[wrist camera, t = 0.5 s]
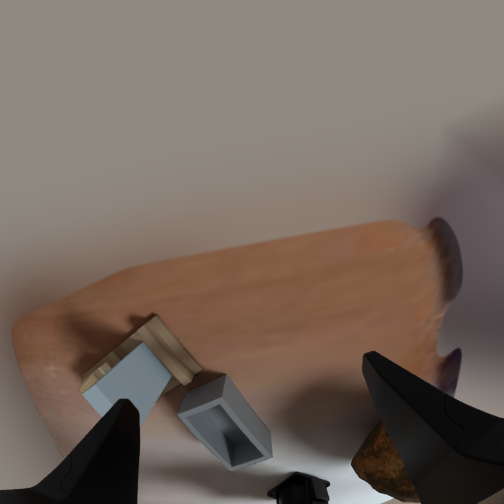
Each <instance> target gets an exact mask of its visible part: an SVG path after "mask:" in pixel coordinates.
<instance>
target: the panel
mask: <svg viewBox="0 0 504 504" xmlns="http://www.w3.org/2000/svg"><path fill="white" fill-rule="evenodd" d="M171 376H172V374H171V373H170V372H169V371H168V369H167V368H166V367H165V366H164V365H163V364H162V363H161V362H160V360H159V359H158V358H157V357H156V356H155V354H154V353H153V352H152V351H151V350H150V348H149V347H148V346H147V345H146V344H145V342H142V343H141V344H140V345H139V346H137V347H136V348H135V349H133V350H132V351H131V352H130V353H129V354H127V355H126V356H125V357H124V358H123V359H122V360H121V361H119V362H118V363H117V364H116V365H115V366H114V367H113V368H111V369H110V370H109V371H108V372H107V373H106V374H105V375H103V376H102V377H101V378H100V379H99V380H98V381H97V382H95V383H94V384H93V385H92V386H91V387H90V388H89V389H87V390H86V391H85V392H84V393H83V394H82V395H83V396H84V397H85V398H86V400H87V401H88V402H89V403H90V404H91V405H92V406H93V408H94V409H95V410H96V411H97V412H98V413H99V414H100V415H101V416H102V417H103V416H104V415H105V414H106V413H107V411H108V410H109V409H110V408H111V407H112V406H113V405H114V404H115V403H116V402H117V400H118V399H121V398H128V399H129V400H130V401H131V402H132V403H133V404H134V405H135V407H136V408H137V409H138V411H139V413H140V427H141V425H142V423H143V422H144V420H145V419H146V417H147V415H148V414H149V412H150V410H151V409H152V407H153V406H154V404H155V402H156V401H157V399H158V397H159V396H160V394H161V393H162V391H163V389H164V388H165V386H166V385H167V383H168V381H169V380H170V378H171Z"/></svg>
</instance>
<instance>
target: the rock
mask: <svg viewBox="0 0 504 504" xmlns="http://www.w3.org/2000/svg"><path fill="white" fill-rule="evenodd" d="M351 466H352V468H353V469H354V471H355V473H356V474H357V475H358V477H359V478H360V479H362V480H364V481H366V482H367V483H368V484H370V485H371V487H372V488H373V489H375V490H376V491H377V492H379V493H382V494H386V495H389V496H391V497H393V498H395V499H398V500H399V501H402V502H414V503H421V502H420V500H419V498H418V495H417V493H416V491H415V489H414V486H413V484H412V482H411V480H410V477H409V475H408V473H407V471H406V469H405V467H404V465H403V462H402V460H401V458H400V456H399V454H398V452H397V450H396V448H395V446H394V444H393V442H392V440H391V438H390V435H389V433H388V431H387V429H386V427H385V425H384V423H383V421H382V420H381V421H380V422H379V423H378V424H377V425H376V427H375V428H374V429H373V430H372V431H371V432H370V434H369V435H368V436H367V438H366V439H365V441H364V442H363V444H362V446H361V447H360V449H359V450H358V452H357V453H356V455H355V456H354V458H353V459H352V462H351Z"/></svg>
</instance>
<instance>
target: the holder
mask: <svg viewBox="0 0 504 504" xmlns="http://www.w3.org/2000/svg"><path fill="white" fill-rule="evenodd" d="M177 416H178V417H179V418H180V419H181V420H182V421H183V423H184V424H185V425H186V426H187V427H188V428H189V430H190V431H191V432H192V433H193V434H194V435H195V436H196V437H197V438H198V440H199V441H200V442H201V443H202V444H203V445H204V446H205V447H206V448H207V449H208V450H209V451H210V452H211V453H212V454H213V455H214V456H215V457H216V458H217V459H218V460H219V461H220V462H221V463H222V464H223V465H224V466H225V467H226V468H227V469H228V470H229V471H230V472H231V471H234V470H237V469H240V468H244V467H247V466H250V465H253V464H256V463H259V462H261V461H264V460H267V459H270V458H272V457H273V455H272V444H271V433H270V431H269V429H268V428H267V427H266V426H265V424H264V423H263V422H262V421H261V419H260V418H259V417H258V416H257V414H256V413H255V412H254V411H253V409H252V408H251V407H250V405H249V404H248V403H247V401H246V400H245V399H244V397H243V396H242V395H241V393H240V392H239V391H238V389H237V388H236V387H235V385H234V384H233V382H232V381H231V380H230V378H229V377H228V375H227V374H226V375H224V376H221V377H219V378H217V379H215V380H213V381H211V382H208V383H206V384H204V385H202V386H199V387H197V388H195V389H192V390H190V391H188V392H187V393H186V395H185V398H184V400H183V402H182V404H181V407H180V409H179V411H178V413H177Z"/></svg>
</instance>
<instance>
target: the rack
mask: <svg viewBox="0 0 504 504" xmlns="http://www.w3.org/2000/svg"><path fill="white" fill-rule="evenodd" d="M142 342H145V344H146V345H147V346H148V347H149V348H150V350H151V351H152V352H153V353H154V354H155V356H156V357H157V358H158V359H159V360H160V362H161V363H162V364H163V365H164V366H165V367H166V368H167V369H168V371H169V372H170V373H171V374H172V376H171V378H170V380H169V381H168V383H167V385H166V386H165V388H164V389H163V391H162V393H161V394H160V396H159V397H158V399H157V401H156V402H155V403H157V402H158V400H159V399H160V397H161V396H162V395H163V394H165V393H166V392H168V391H170V390H171V389H173V388H174V387H176V386H178V385H179V384H181V383H182V384H183V386H185V385H186V384H188V383H190V382H191V381H192V379H193V377H194V375H195V374H196V373H198V372H199V371H201V370H202V368H203V367H202V366H201V365H200V364H199V363H198V362H197V361H196V360H195V358H194V357H193V356H192V355H191V354H190V353H189V352H188V350H187V349H186V348H185V347H184V346H183V345H182V343H181V342H180V341H179V340H178V339H177V338H176V336H175V335H174V334H173V333H172V331H171V330H170V329H169V328H168V327H167V325H166V324H165V323H164V322H163V320H162V319H161V318H160V316H159V315H156V316H155V317H154V318H152V319H151V320H150V321H149V322H147V323H146V324H145V325H143V326H142V327H141V328H140V329H138V330H137V331H136V332H135V333H134V334H133V335H131V336H130V337H129V338H128V339H126V340H125V341H124V342H123V343H122V344H120V345H119V346H118V347H117V348H115V349H114V350H113V351H111V352H110V353H109V354H108V355H107V356H106V357H104V358H103V359H102V360H101V361H100V362H98V363H97V364H96V365H95V366H93V367H92V368H91V369H90V370H89V371H87V372H86V373H85V374H84V375H83V376H82V377H83V378H84V380H83V381H82V382H81V383H82V384H83V386H82V387H81V388H80V389H79V391H80V392H81V393H82V394H83V393H84V392H85V391H86V390H87V389H89V388H90V387H91V386H92V385H93V384H94V383H95V382H97V381H98V380H99V379H100V378H101V377H102V376H103V375H105V374H106V373H107V372H108V371H109V370H110V369H111V368H113V367H114V366H115V365H116V364H117V363H118V362H119V361H121V360H122V359H123V358H124V357H125V356H126V355H127V354H129V353H130V352H131V351H132V350H133V349H135V348H136V347H137V346H139V345H140V344H141V343H142Z"/></svg>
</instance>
